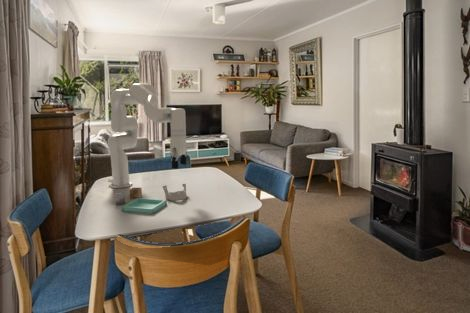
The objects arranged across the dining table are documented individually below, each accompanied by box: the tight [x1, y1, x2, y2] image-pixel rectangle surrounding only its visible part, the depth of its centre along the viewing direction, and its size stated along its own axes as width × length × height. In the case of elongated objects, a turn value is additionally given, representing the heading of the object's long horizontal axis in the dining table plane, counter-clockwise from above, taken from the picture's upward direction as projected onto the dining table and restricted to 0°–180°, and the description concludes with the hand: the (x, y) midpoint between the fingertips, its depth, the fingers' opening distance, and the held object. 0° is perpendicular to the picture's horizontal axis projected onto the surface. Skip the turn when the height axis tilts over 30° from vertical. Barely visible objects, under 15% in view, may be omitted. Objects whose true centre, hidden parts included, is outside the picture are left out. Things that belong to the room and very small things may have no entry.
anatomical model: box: [162, 183, 188, 202], centre depth 173 cm, size 13×11×10 cm
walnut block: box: [128, 187, 143, 200], centre depth 175 cm, size 5×5×5 cm
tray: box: [121, 197, 168, 215], centre depth 159 cm, size 16×14×2 cm
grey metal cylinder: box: [114, 191, 126, 206], centre depth 165 cm, size 5×5×6 cm
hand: (179, 166), depth 168 cm, fingers open, 9 cm apart
